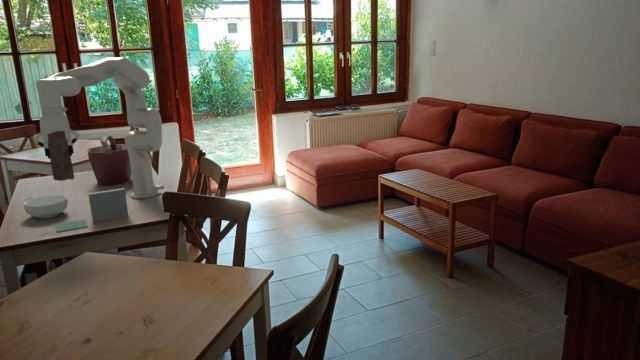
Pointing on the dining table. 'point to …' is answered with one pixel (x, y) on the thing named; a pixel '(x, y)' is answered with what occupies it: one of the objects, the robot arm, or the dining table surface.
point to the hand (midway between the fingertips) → (60, 156)
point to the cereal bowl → (46, 206)
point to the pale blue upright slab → (108, 204)
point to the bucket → (110, 162)
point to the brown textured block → (60, 156)
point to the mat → (71, 225)
